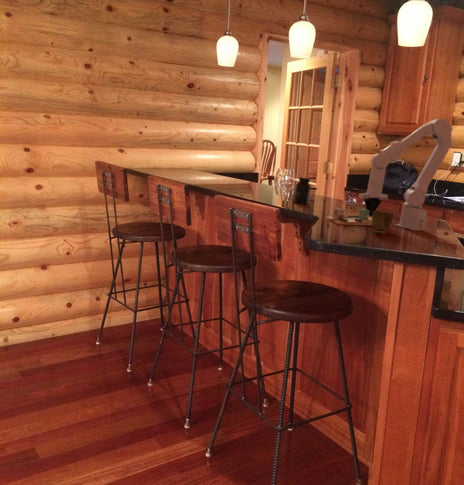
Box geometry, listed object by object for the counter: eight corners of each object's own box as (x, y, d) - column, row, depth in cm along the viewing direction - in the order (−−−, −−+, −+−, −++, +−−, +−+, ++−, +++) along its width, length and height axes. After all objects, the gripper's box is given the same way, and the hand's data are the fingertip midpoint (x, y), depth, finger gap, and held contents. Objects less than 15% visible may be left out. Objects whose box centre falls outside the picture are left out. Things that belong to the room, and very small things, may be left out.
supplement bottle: (292, 202, 243) (296, 177, 240) (294, 200, 249) (298, 176, 246) (306, 204, 241) (310, 179, 238) (308, 203, 247) (312, 178, 245)
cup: (374, 230, 194) (378, 209, 192) (392, 235, 189) (397, 213, 187) (365, 232, 188) (369, 210, 186) (384, 237, 183) (388, 214, 182)
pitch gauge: (385, 225, 210) (387, 212, 209) (342, 225, 197) (344, 211, 196) (367, 219, 218) (369, 207, 217) (324, 219, 205) (326, 206, 204)
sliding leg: (373, 221, 206) (375, 211, 205) (369, 221, 205) (371, 211, 204) (362, 218, 211) (364, 208, 210) (358, 218, 210) (360, 208, 209)
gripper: (380, 182, 215) (374, 214, 218) (355, 181, 208) (350, 214, 211) (393, 185, 210) (387, 218, 213) (368, 183, 202) (362, 217, 205)
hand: (369, 216), depth 211 cm, fingers closed
